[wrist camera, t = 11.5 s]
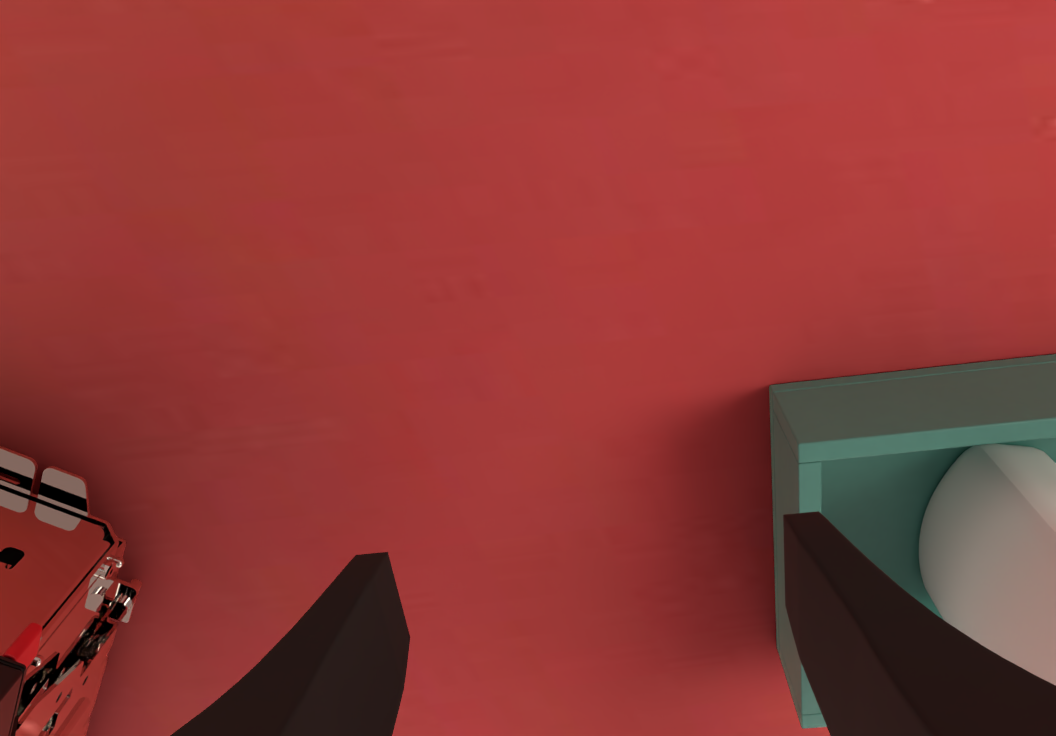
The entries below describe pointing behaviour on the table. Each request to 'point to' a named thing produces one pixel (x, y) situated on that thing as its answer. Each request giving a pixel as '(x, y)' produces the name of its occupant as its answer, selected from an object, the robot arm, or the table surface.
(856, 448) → the desk tidy
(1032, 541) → the eye dropper bottle
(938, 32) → the table surface
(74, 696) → the bill acceptor
